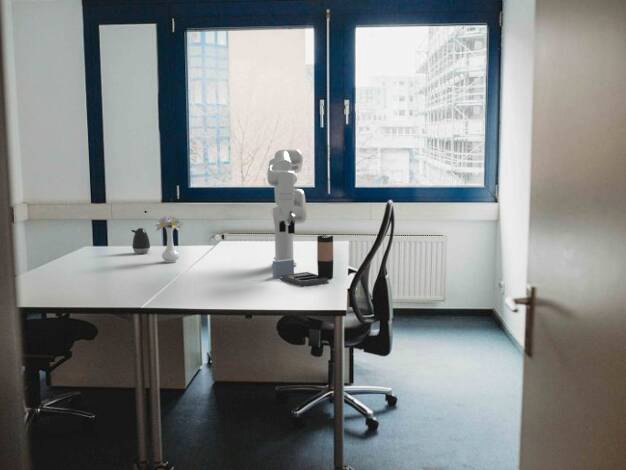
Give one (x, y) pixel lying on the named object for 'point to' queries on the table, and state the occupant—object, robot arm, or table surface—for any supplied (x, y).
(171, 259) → the flower vase
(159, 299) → the table surface
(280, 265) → the panel
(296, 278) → the rack
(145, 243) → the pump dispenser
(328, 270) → the travel mug
